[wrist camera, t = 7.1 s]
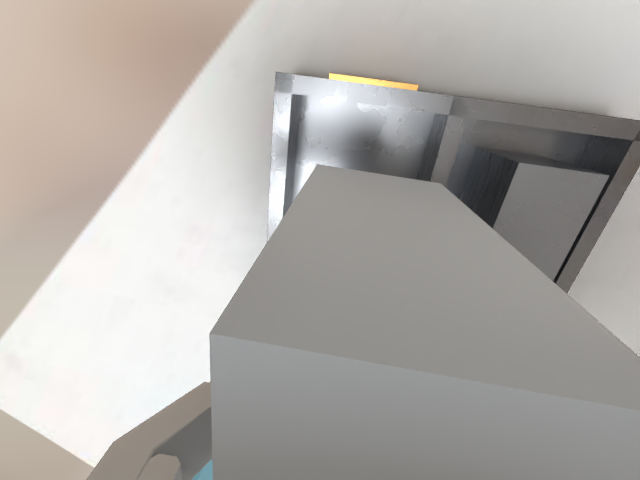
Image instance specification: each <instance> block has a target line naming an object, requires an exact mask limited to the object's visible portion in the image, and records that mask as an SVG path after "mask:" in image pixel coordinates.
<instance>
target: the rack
mask: <svg viewBox="0 0 640 480" xmlns="http://www.w3.org/2000/svg"><path fill="white" fill-rule="evenodd" d="M418 86H419V85H415V84H408V83H400V82H393V81H385V80H377V79H370V78H362V77H355V76H347V75H340V74H332V73H329V79H325V78H318V77H310V76H303V75H295V74H288V73H280V72H276V78H275V97H274V116H273V134H272V153H271V172H270V190H269V209H268V228H267V242H268V241H269V239H270V237H271V236H272V234H273V233H274V231H275V230H276V228H277V226H278V225H279V223H280V222H281V220H282V218H283V217H284V215H285V214H286V212H287V211H288V209H289V207H290V206H291V204H292V203H293V201H294V200H295V198H296V196H297V195H298V193H299V192H300V190H301V189H302V187H303V185H304V184H305V182H306V181H307V179H308V177H309V176H310V174H311V173H312V171H313V170H314V168H315V166H316V165H317V164H320V165H326V166H333V167H339V168H345V169H352V170H358V171H364V172H371V173H377V174H384V175H390V176H396V177H403V178H409V179H416V180H422V181H428V182H435V183H441V184H442V185H443V186H444V187H445V188H447V189H448V190H449V191H450V192H451V193H452V194H453V195H455V196H456V197H457V198H458V199H459V200H460V201H461V202H463V203H464V204H465V205H466V206H467V207H468V208H469V209H471V210H472V211H473V212H474V213H475V214H476V215H477V216H479V217H480V218H481V219H482V220H483V221H484V222H485V223H487V224H488V225H489V226H490V227H491V228H492V229H493V230H495V231H496V232H497V233H498V234H499V235H500V236H501V237H503V238H504V239H505V240H506V241H507V242H508V243H509V244H511V245H512V246H513V247H514V248H515V249H516V250H517V251H519V252H520V253H521V254H522V255H523V256H524V257H525V258H527V259H528V260H529V261H530V262H531V263H532V264H533V265H535V266H536V267H537V268H538V269H539V270H540V271H541V272H543V273H544V274H545V275H546V276H547V277H548V278H549V279H551V280H552V281H553V282H554V283H555V284H556V285H557V286H559V287H560V288H561V289H562V290H563V291H564V292H565V293H567V292H568V290H569V289H570V287H571V285H572V283H573V282H574V280H575V278H576V276H577V275H578V273H579V271H580V269H581V268H582V266H583V264H584V262H585V261H586V259H587V257H588V255H589V254H590V252H591V250H592V248H593V247H594V245H595V243H596V241H597V240H598V238H599V236H600V234H601V233H602V231H603V229H604V227H605V226H606V224H607V222H608V220H609V219H610V217H611V215H612V213H613V212H614V210H615V208H616V206H617V205H618V203H619V201H620V199H621V198H622V196H623V194H624V192H625V191H626V189H627V187H628V185H629V184H630V182H631V180H632V178H633V177H634V175H635V173H636V171H637V170H638V168H639V166H640V120H633V119H625V118H618V117H610V116H603V115H595V114H588V113H580V112H573V111H565V110H558V109H550V108H543V107H535V106H528V105H520V104H513V103H505V102H498V101H490V100H483V99H475V98H468V97H460V96H453V95H445V94H438V93H430V92H423V91H417V90H418Z"/></svg>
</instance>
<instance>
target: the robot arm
mask: <svg viewBox="0 0 640 480" xmlns="http://www.w3.org/2000/svg"><path fill="white" fill-rule="evenodd" d="M211 459H212V419H211V381H210V383H209V382H203V383H202V384H200V385H199V386H197V387H196V388H194V389H193V390H191V391H190V392H188V393H187V394H185V395H184V396H182V397H181V398H179V399H178V400H176V401H175V402H173V403H172V404H170V405H169V406H167V407H166V408H164V409H163V410H161V411H159V412H158V413H156V414H155V415H153V416H152V417H150V418H149V419H147V420H146V421H144V422H143V423H141V424H140V425H138V426H137V427H135V428H134V429H132V430H131V431H129V432H128V433H126V434H125V435H123V436H122V437H120V438H119V439H117V440H116V441H114V442H113V443H112V445H111V446H110V447H109V449H108V450H107V452H106V453H105V454H104V456H103V457H102V459H101V460H100V461H99V463H98V464H97V466H96V467H95V468H94V470H93V471H92V472H91V474H90V475H89V477H88V478H87V479H86V480H191V479H192V478H193V477H194V476H195V475H196V474H197V473H198V472H199V471H200V470H201V469H202V468H203V467H204V466H205V465H206V464H207V463H208V462H209V461H210V460H211Z"/></svg>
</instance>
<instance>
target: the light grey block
mask: <svg viewBox="0 0 640 480" xmlns="http://www.w3.org/2000/svg"><path fill="white" fill-rule="evenodd" d="M210 374H211V419H212V464H213V480H640V357H638V356H637V355H636V354H635V353H634V352H633V351H632V350H630V349H629V348H628V347H627V346H626V345H625V344H624V343H622V342H621V341H620V340H619V339H618V338H617V337H616V336H614V335H613V334H612V333H611V332H610V331H609V330H608V329H607V328H605V327H604V326H603V325H602V324H601V323H600V322H599V321H597V320H596V319H595V318H594V317H593V316H592V315H591V314H589V313H588V312H587V311H586V310H585V309H584V308H583V307H581V306H580V305H579V304H578V303H577V302H576V301H575V300H573V299H572V298H571V297H570V296H569V295H568V294H567V293H565V292H564V291H563V290H562V289H561V288H560V287H559V286H557V285H556V284H555V283H554V282H553V281H552V280H551V279H549V278H548V277H547V276H546V275H545V274H544V273H543V272H541V271H540V270H539V269H538V268H537V267H536V266H535V265H533V264H532V263H531V262H530V261H529V260H528V259H527V258H525V257H524V256H523V255H522V254H521V253H520V252H519V251H517V250H516V249H515V248H514V247H513V246H512V245H511V244H509V243H508V242H507V241H506V240H505V239H504V238H503V237H501V236H500V235H499V234H498V233H497V232H496V231H495V230H493V229H492V228H491V227H490V226H489V225H488V224H487V223H485V222H484V221H483V220H482V219H481V218H480V217H479V216H477V215H476V214H475V213H474V212H473V211H472V210H471V209H469V208H468V207H467V206H466V205H465V204H464V203H463V202H461V201H460V200H459V199H458V198H457V197H456V196H455V195H453V194H452V193H451V192H450V191H449V190H448V189H447V188H445V187H444V186H443V185H442V184H441V183H435V182H428V181H422V180H416V179H409V178H403V177H396V176H390V175H384V174H377V173H371V172H364V171H358V170H352V169H345V168H339V167H333V166H326V165H320V164H317V165H316V166H315V168H314V170H313V171H312V173H311V174H310V176H309V177H308V179H307V181H306V182H305V184H304V185H303V187H302V189H301V190H300V192H299V193H298V195H297V196H296V198H295V200H294V201H293V203H292V204H291V206H290V207H289V209H288V211H287V212H286V214H285V215H284V217H283V218H282V220H281V222H280V223H279V225H278V226H277V228H276V230H275V231H274V233H273V234H272V236H271V237H270V239H269V241H268V242H267V244H266V245H265V247H264V248H263V250H262V252H261V253H260V255H259V256H258V258H257V259H256V261H255V263H254V264H253V266H252V267H251V269H250V270H249V272H248V274H247V275H246V277H245V278H244V280H243V282H242V283H241V285H240V286H239V288H238V289H237V291H236V293H235V294H234V296H233V297H232V299H231V300H230V302H229V304H228V305H227V307H226V308H225V310H224V311H223V313H222V315H221V316H220V318H219V319H218V321H217V323H216V324H215V326H214V327H213V329H212V330H211V332H210Z"/></svg>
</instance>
